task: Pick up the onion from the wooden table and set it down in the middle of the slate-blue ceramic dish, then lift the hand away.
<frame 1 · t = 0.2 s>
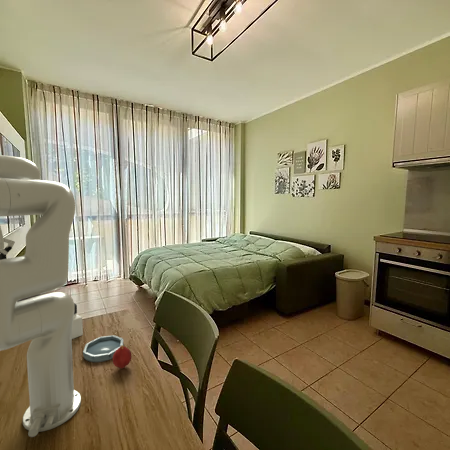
dish: (104, 350, 93), on the table
container: (68, 336, 103), on the table
onion: (122, 368, 84), on the table
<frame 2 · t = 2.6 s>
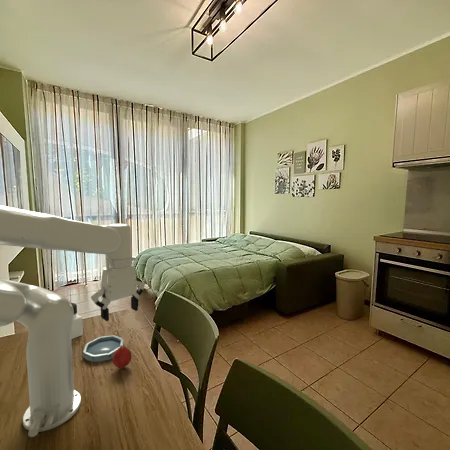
hand: (120, 314, 82), 18 cm above the table, tool pointing down, fingers open, 9 cm apart
nothing on the table moved.
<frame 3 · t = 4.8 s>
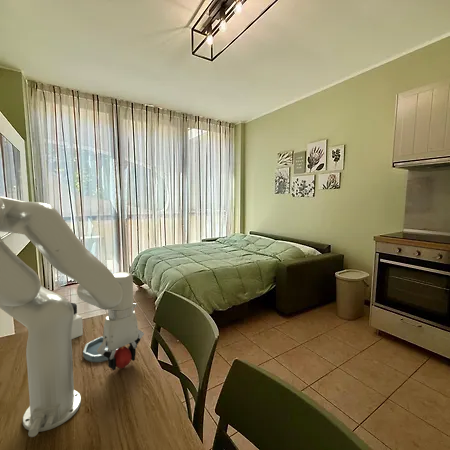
hand: (122, 362, 84), 2 cm above the table, tool pointing down, fingers closed on onion, 5 cm apart
onion: (122, 368, 84), on the table, touching gripper
everything else where it was.
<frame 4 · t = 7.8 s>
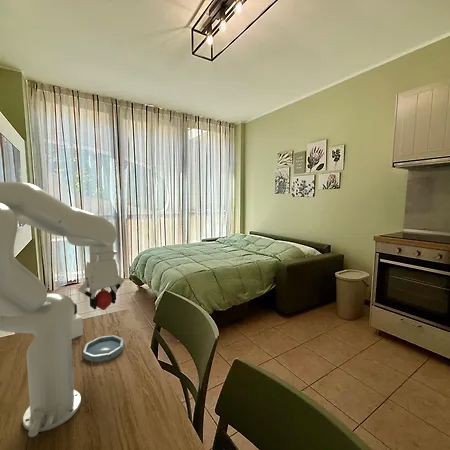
hand: (103, 304, 91), 18 cm above the table, tool pointing down, fingers closed on onion, 5 cm apart
onion: (103, 310, 91), point 16 cm above the table, touching gripper
everything else where it was.
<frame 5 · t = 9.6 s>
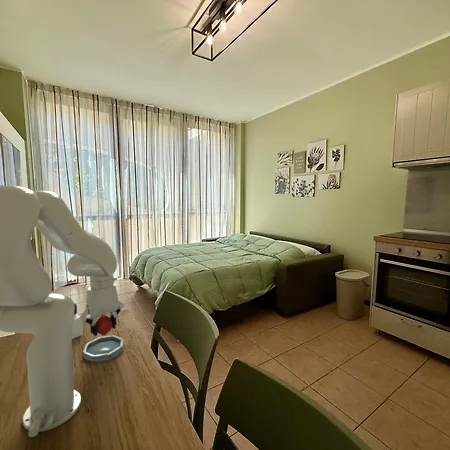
hand: (103, 330, 93), 8 cm above the table, tool pointing down, fingers closed on onion, 5 cm apart
onion: (104, 335, 93), point 6 cm above the table, touching gripper
everything else where it was.
when the fingers open (5 cm above the table, at t = 10.7 s): onion drops 2 cm, resting on dish.
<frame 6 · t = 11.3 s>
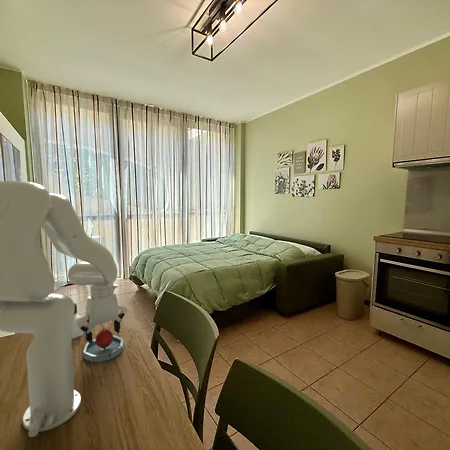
hand: (103, 336, 93), 6 cm above the table, tool pointing down, fingers open, 9 cm apart
onion: (104, 348, 93), point 1 cm above the table, touching dish
everything else where it was.
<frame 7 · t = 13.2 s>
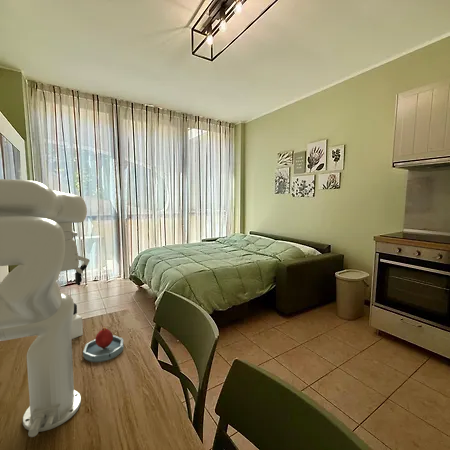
hand: (61, 287, 85), 26 cm above the table, tool pointing down, fingers open, 9 cm apart
nothing on the table moved.
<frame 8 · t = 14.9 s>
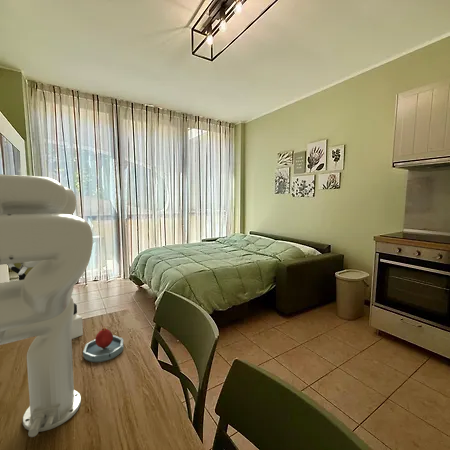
hand: (42, 282, 82), 28 cm above the table, tool pointing down, fingers open, 9 cm apart
nothing on the table moved.
at the end: onion inside the target area on the dish (0.1 cm from its centre), point 0.8 cm above the dish's base; onion touching dish; the gripper is holding nothing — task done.
